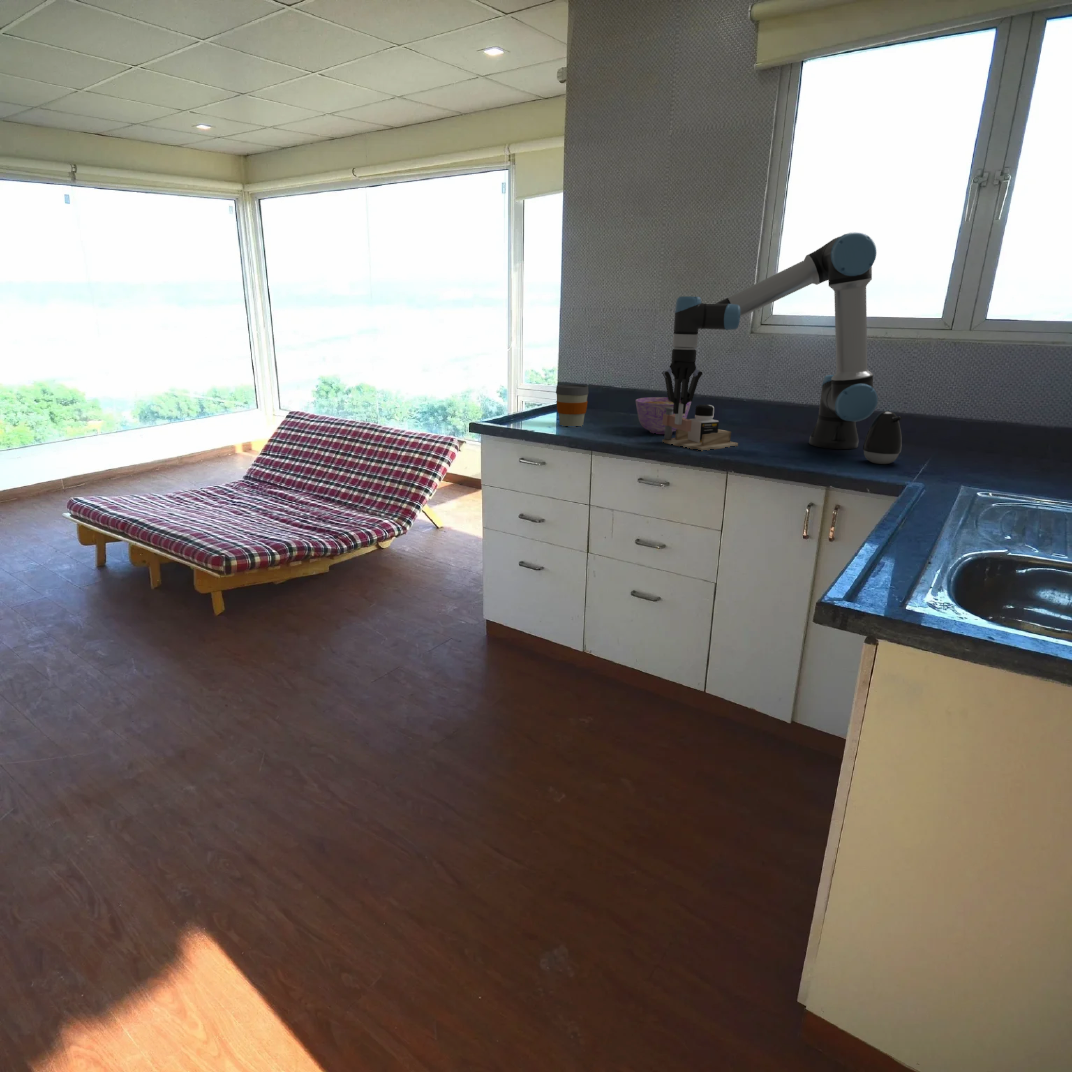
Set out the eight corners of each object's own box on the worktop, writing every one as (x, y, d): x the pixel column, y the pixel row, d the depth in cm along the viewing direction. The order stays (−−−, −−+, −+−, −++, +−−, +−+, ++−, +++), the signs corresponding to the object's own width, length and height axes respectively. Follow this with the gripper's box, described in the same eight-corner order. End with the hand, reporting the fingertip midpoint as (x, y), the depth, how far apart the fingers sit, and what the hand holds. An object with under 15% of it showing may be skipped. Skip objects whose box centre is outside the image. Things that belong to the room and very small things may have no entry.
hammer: (691, 446, 222) (694, 413, 219) (682, 446, 221) (685, 414, 218) (670, 437, 236) (672, 407, 233) (661, 438, 235) (663, 407, 232)
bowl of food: (690, 438, 243) (693, 404, 239) (633, 436, 246) (634, 403, 242) (687, 428, 261) (690, 397, 258) (634, 427, 264) (636, 396, 261)
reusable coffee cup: (550, 423, 271) (551, 384, 266) (580, 422, 275) (581, 383, 270) (561, 428, 260) (562, 388, 255) (592, 427, 263) (593, 387, 259)
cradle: (737, 446, 229) (739, 432, 228) (701, 451, 220) (702, 437, 219) (698, 437, 243) (699, 424, 242) (662, 442, 235) (663, 429, 233)
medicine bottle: (699, 443, 228) (702, 406, 224) (687, 439, 234) (689, 404, 230) (717, 442, 230) (720, 405, 226) (704, 438, 236) (707, 403, 233)
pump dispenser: (878, 466, 200) (886, 414, 195) (853, 459, 209) (861, 409, 205) (907, 465, 203) (916, 413, 198) (881, 458, 212) (889, 408, 207)
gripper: (698, 348, 220) (691, 421, 228) (660, 347, 218) (655, 422, 225) (708, 349, 213) (701, 425, 221) (669, 348, 211) (663, 426, 218)
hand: (678, 423), depth 223 cm, fingers closed
